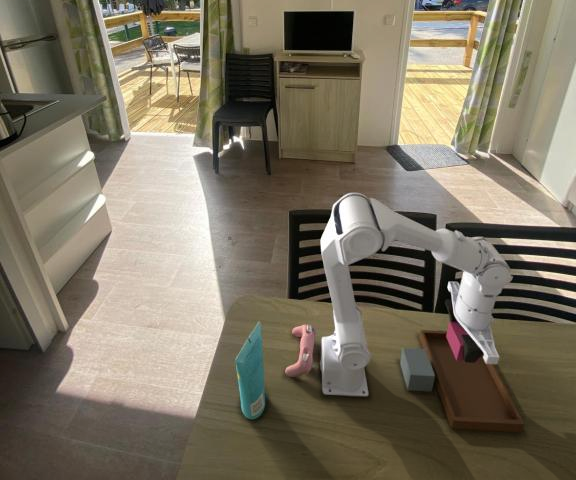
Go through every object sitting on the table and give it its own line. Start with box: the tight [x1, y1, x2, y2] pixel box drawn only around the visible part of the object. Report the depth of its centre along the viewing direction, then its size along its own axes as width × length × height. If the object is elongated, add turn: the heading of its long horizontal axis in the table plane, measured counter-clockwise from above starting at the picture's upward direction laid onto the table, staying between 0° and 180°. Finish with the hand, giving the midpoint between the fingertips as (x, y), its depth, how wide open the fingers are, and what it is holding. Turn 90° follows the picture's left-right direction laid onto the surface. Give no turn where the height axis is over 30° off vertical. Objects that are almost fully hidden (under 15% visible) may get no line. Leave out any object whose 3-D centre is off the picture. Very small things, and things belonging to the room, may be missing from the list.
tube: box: [234, 320, 266, 420], centre depth 57 cm, size 7×5×19 cm, turn 156°
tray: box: [419, 329, 525, 433], centre depth 64 cm, size 13×16×3 cm
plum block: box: [446, 321, 480, 362], centre depth 61 cm, size 4×4×4 cm
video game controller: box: [284, 323, 317, 378], centre depth 68 cm, size 10×5×7 cm, turn 168°
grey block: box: [399, 347, 435, 392], centre depth 64 cm, size 5×5×5 cm
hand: (462, 346), depth 61 cm, fingers closed on plum block, 4 cm apart
